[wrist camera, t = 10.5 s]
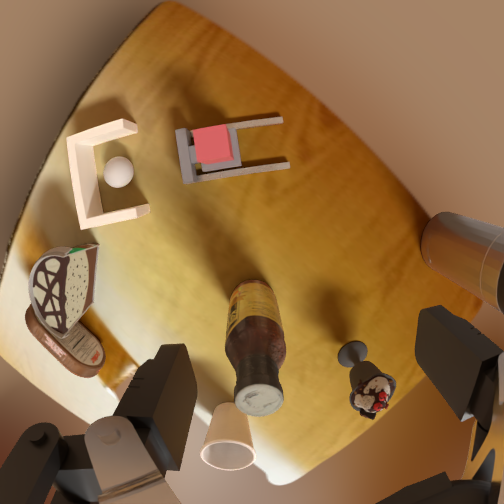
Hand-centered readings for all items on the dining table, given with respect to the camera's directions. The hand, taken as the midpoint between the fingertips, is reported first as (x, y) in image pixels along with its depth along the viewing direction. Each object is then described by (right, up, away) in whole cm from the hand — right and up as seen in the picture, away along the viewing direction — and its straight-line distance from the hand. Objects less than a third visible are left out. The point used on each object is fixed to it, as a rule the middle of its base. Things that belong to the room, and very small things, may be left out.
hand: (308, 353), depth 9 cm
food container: (-28, +1, +31) cm, 41 cm away
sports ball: (-19, +14, +28) cm, 36 cm away
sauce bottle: (-2, -3, +32) cm, 32 cm away
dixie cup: (-6, -24, +38) cm, 45 cm away
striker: (-7, +15, +26) cm, 31 cm away
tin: (-30, -8, +33) cm, 46 cm away
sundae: (+14, -13, +35) cm, 40 cm away
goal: (-19, +14, +27) cm, 36 cm away
